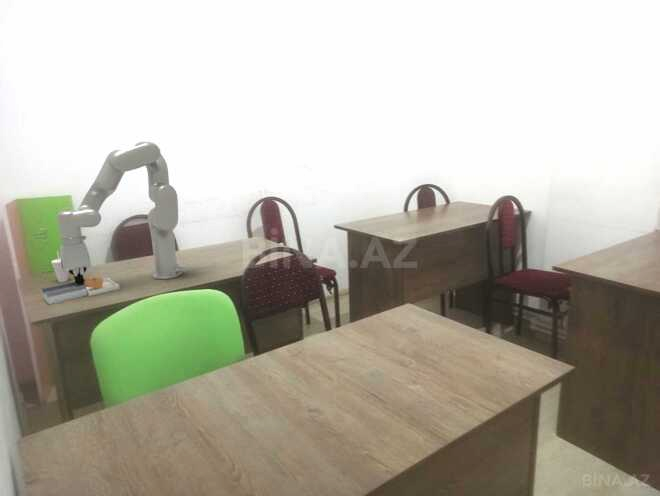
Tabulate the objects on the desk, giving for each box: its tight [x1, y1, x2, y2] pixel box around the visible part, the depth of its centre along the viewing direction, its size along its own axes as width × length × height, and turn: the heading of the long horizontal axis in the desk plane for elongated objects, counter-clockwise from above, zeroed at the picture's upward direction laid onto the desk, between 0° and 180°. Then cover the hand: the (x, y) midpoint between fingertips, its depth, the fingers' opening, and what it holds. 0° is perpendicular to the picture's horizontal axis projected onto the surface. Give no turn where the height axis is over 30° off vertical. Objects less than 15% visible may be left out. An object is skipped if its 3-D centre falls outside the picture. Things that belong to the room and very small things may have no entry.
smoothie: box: [51, 250, 69, 283], centre depth 215 cm, size 6×6×14 cm
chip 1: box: [83, 277, 95, 288], centre depth 200 cm, size 4×4×3 cm
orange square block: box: [92, 276, 104, 289], centre depth 203 cm, size 4×4×3 cm
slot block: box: [41, 280, 89, 305], centre depth 195 cm, size 14×10×4 cm
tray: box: [86, 277, 121, 297], centre depth 204 cm, size 12×14×2 cm
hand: (79, 283), depth 198 cm, fingers closed
